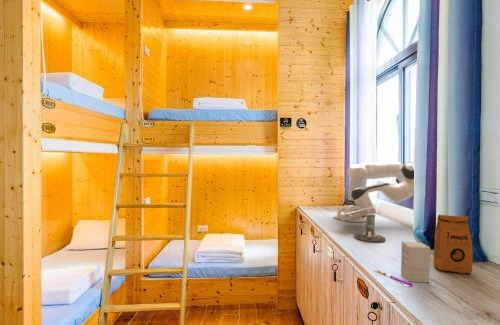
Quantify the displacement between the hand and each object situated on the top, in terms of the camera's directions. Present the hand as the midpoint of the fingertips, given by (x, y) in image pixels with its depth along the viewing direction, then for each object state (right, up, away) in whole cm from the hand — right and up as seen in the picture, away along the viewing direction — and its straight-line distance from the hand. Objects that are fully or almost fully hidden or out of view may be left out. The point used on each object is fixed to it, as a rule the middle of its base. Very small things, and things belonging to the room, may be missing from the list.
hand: (360, 214), depth 184 cm
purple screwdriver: (-12, -13, -68) cm, 70 cm away
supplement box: (-4, -13, -67) cm, 68 cm away
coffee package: (+17, -13, -57) cm, 61 cm away
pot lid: (+1, -11, -10) cm, 15 cm away
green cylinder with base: (+2, -10, -10) cm, 14 cm away
